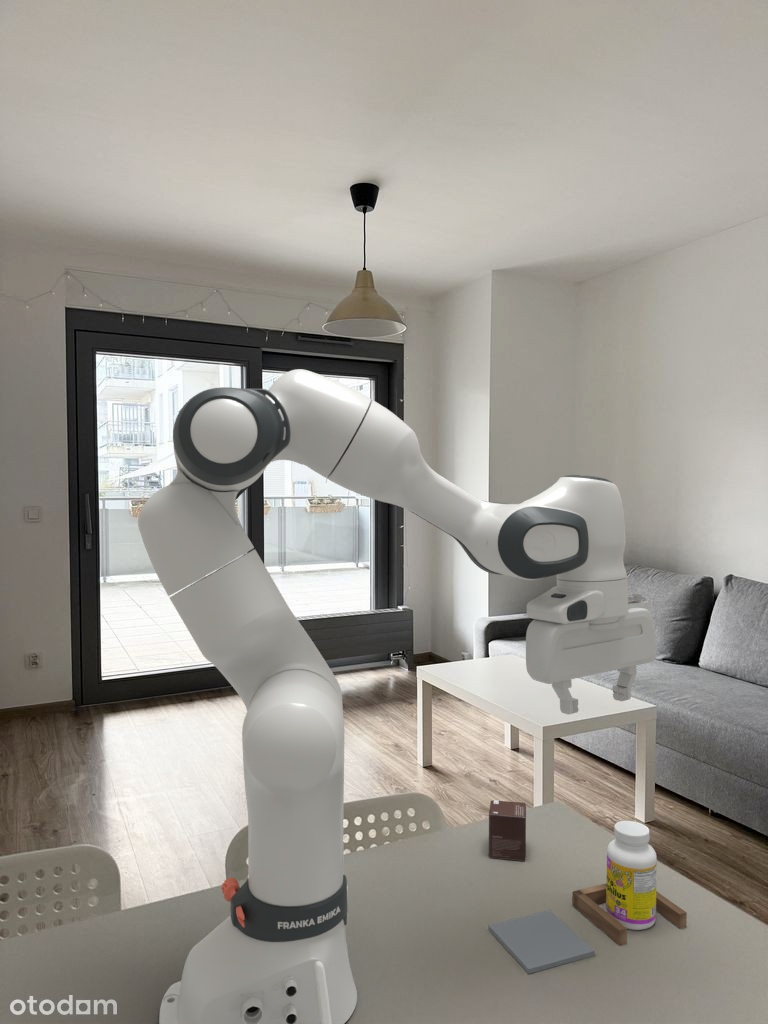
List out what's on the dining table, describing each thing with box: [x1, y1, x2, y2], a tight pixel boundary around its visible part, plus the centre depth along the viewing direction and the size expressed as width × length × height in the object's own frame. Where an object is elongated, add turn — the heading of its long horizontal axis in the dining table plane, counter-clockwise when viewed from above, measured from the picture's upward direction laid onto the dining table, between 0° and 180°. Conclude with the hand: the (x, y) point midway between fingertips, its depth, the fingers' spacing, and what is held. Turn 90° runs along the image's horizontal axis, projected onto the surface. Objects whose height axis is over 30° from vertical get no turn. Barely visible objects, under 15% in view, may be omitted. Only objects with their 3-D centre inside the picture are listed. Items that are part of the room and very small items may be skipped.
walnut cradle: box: [571, 882, 688, 946], centre depth 103 cm, size 11×10×2 cm
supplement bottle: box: [605, 820, 658, 931], centre depth 102 cm, size 7×7×13 cm
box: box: [488, 800, 527, 862], centre depth 121 cm, size 6×6×7 cm
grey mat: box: [487, 909, 596, 975], centre depth 97 cm, size 10×10×1 cm
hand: (596, 706), depth 95 cm, fingers open, 8 cm apart
